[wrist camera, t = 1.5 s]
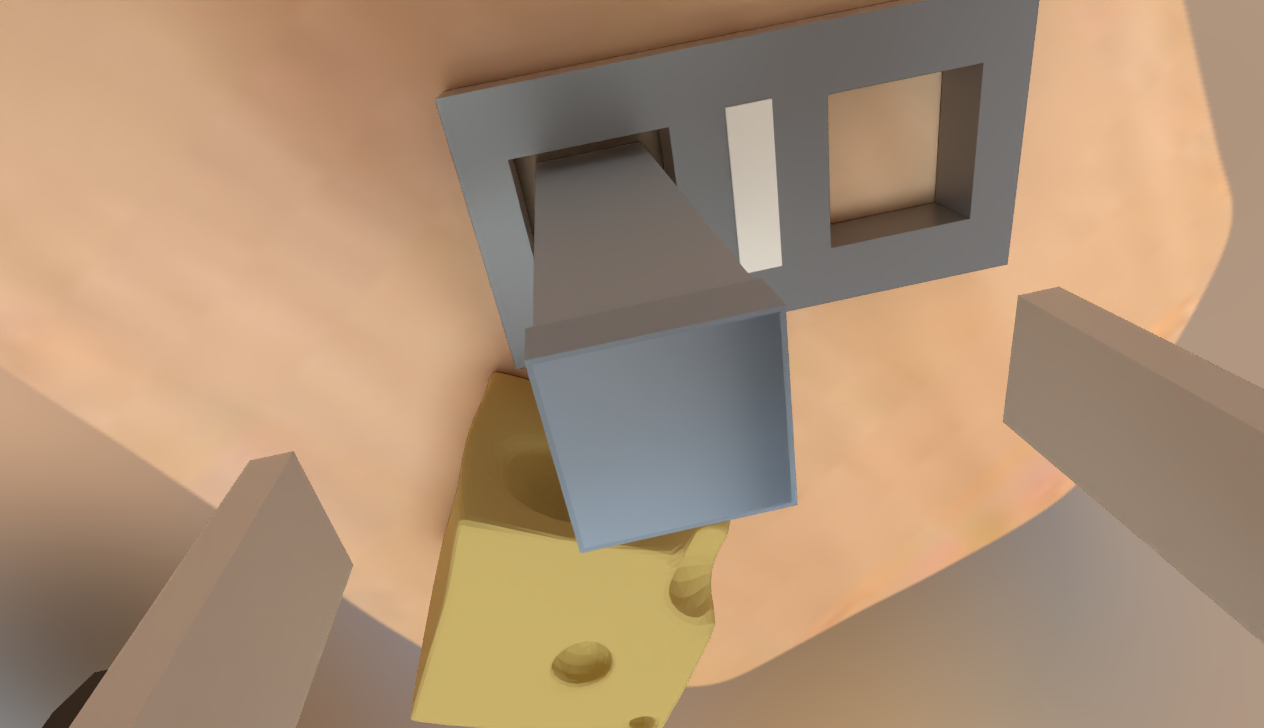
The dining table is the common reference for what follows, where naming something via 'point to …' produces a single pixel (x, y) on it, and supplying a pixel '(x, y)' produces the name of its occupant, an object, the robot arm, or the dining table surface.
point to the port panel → (770, 145)
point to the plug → (652, 356)
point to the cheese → (553, 597)
